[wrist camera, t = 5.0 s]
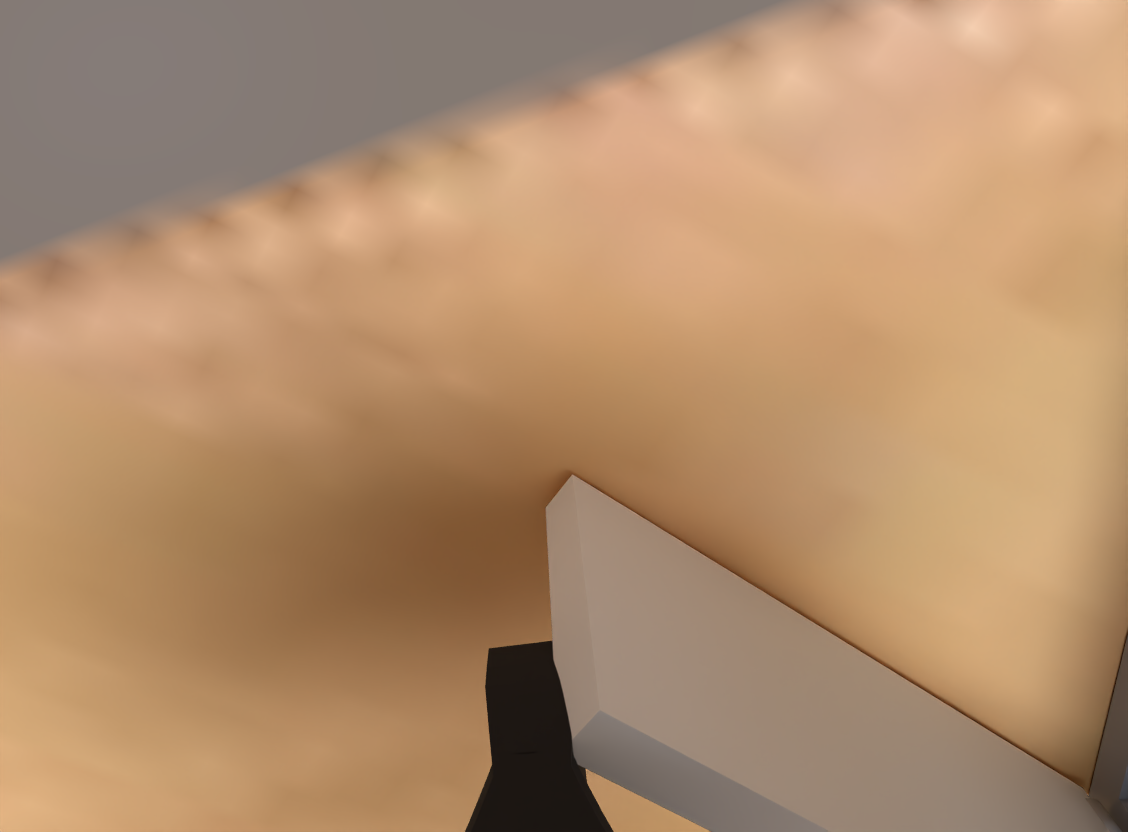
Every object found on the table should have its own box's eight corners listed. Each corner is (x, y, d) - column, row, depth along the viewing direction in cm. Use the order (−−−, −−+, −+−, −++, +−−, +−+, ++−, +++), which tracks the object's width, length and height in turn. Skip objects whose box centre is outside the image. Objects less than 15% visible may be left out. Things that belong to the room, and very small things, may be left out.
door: (1035, 846, 19) (1221, 1142, 14) (513, 548, 15) (509, 807, 10) (1101, 794, 19) (1321, 1084, 13) (575, 470, 15) (605, 704, 10)
